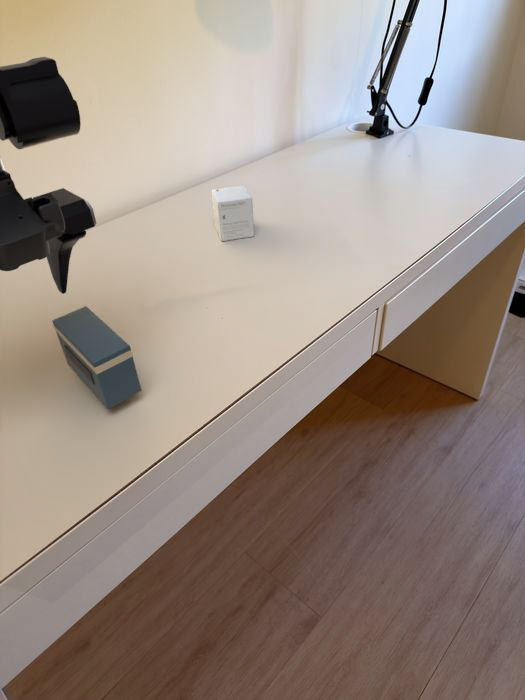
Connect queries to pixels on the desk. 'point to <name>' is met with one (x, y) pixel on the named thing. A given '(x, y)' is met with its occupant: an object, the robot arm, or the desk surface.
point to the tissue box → (98, 356)
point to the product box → (233, 213)
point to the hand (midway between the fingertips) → (22, 309)
